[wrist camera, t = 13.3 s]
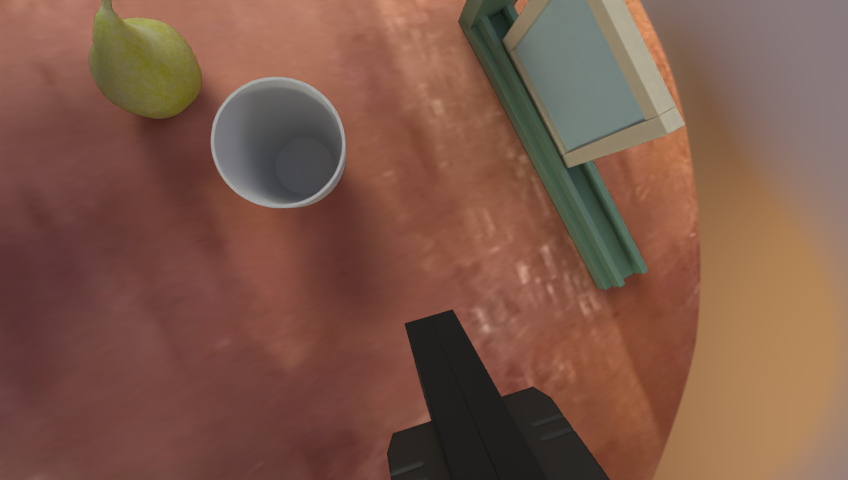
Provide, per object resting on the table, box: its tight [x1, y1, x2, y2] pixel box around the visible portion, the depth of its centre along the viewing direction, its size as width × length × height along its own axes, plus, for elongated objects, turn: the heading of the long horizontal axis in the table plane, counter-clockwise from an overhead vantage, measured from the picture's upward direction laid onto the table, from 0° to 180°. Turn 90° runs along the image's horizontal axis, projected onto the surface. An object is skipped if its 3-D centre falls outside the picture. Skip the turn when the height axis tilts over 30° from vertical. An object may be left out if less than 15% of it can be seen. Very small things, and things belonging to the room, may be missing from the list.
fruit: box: [89, 0, 202, 119], centre depth 30 cm, size 7×8×12 cm
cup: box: [211, 77, 346, 208], centre depth 32 cm, size 8×8×10 cm
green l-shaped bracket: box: [459, 0, 648, 290], centre depth 31 cm, size 27×4×17 cm, turn 29°
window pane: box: [501, 0, 685, 169], centre depth 31 cm, size 12×1×13 cm, turn 29°
